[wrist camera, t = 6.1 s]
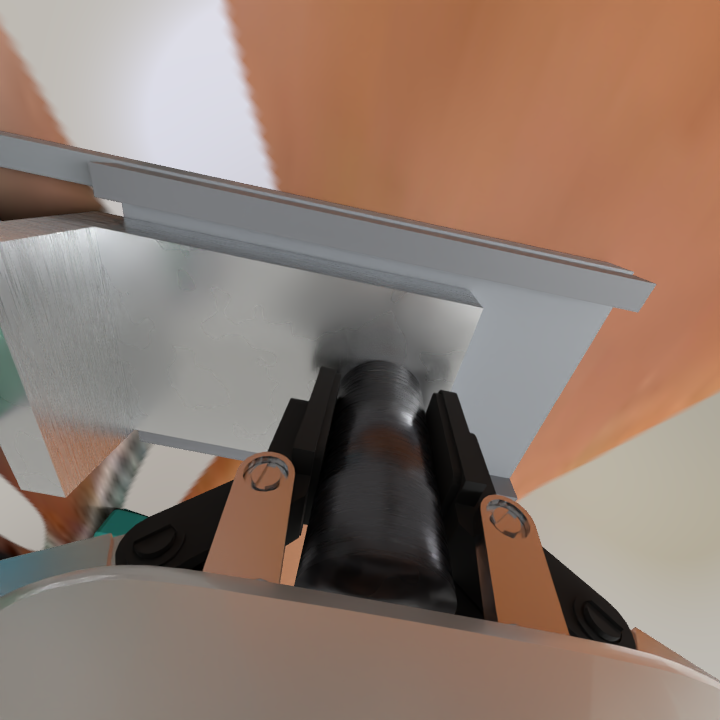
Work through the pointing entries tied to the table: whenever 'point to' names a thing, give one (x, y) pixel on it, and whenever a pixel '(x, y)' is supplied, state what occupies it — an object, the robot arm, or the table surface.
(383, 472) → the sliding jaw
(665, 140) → the table surface
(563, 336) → the vise frame
